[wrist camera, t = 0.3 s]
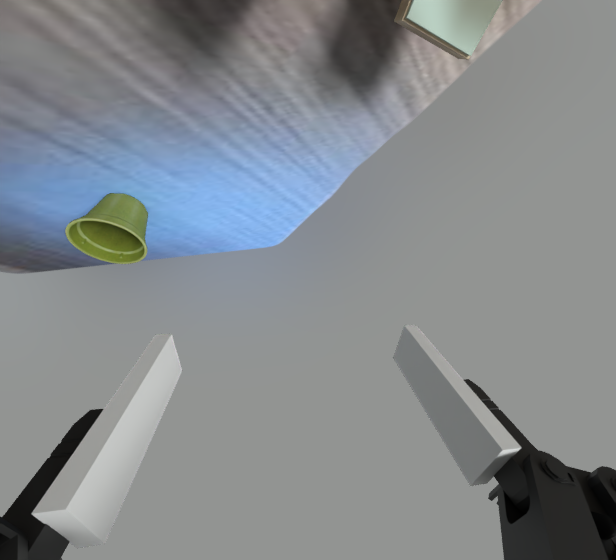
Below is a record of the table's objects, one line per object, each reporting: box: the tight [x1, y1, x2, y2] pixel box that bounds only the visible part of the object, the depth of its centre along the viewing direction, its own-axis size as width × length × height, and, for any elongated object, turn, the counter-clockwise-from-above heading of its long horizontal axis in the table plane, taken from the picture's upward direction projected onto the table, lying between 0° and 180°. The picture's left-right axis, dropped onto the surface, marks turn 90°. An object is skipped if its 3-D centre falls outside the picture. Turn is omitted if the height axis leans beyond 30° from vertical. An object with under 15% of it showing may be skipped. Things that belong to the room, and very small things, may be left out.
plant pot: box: [65, 193, 148, 264], centre depth 35 cm, size 9×9×9 cm
